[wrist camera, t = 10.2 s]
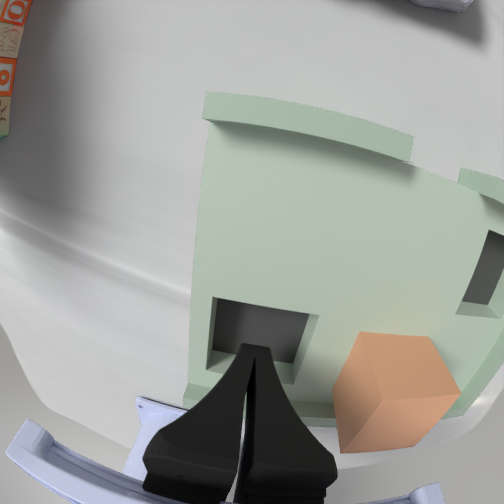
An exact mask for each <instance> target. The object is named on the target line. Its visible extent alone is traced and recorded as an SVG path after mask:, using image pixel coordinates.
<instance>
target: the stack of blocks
mask: <svg viewBox="0 0 504 504" xmlns="http://www.w3.org/2000/svg"><path fill="white" fill-rule="evenodd" d="M31 2H32V0H0V138H2V137H4V136H7V135H9V117H10V103H11V96H12V89H13V81H14V74H15V68H16V63H17V57H18V53H19V48H20V44H21V40H22V35H23V31H24V25H25V22H26V18H27V14H28V12H29V8H30V5H31Z"/></svg>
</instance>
